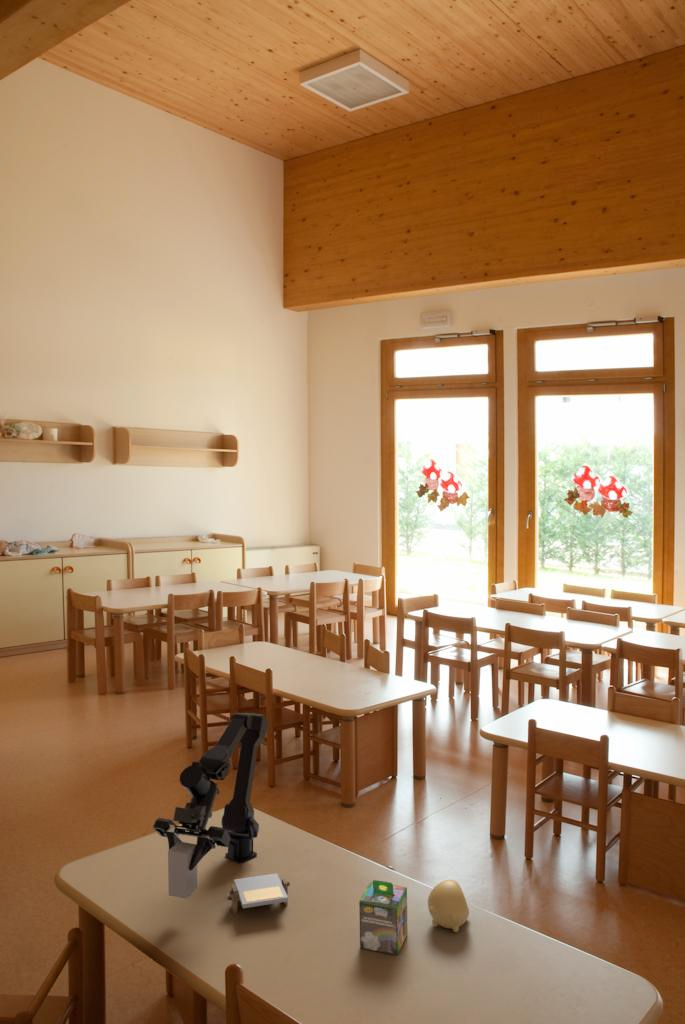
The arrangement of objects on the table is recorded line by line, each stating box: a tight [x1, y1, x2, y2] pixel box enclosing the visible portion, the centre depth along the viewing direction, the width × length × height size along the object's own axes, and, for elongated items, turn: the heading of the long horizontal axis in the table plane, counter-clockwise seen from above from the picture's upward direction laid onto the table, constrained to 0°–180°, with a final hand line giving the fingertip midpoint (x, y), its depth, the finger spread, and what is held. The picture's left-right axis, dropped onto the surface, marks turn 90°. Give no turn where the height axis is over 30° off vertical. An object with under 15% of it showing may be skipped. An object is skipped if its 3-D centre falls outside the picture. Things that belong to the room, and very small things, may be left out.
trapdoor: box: [233, 872, 289, 909], centre depth 206 cm, size 12×11×4 cm
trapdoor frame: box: [228, 877, 291, 914], centre depth 210 cm, size 8×15×6 cm, turn 107°
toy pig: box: [427, 879, 470, 933], centre depth 199 cm, size 10×12×11 cm
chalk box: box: [358, 879, 408, 956], centre depth 192 cm, size 9×9×15 cm
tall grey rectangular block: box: [167, 841, 198, 900], centre depth 201 cm, size 5×5×11 cm
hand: (180, 868), depth 199 cm, fingers closed on tall grey rectangular block, 5 cm apart
